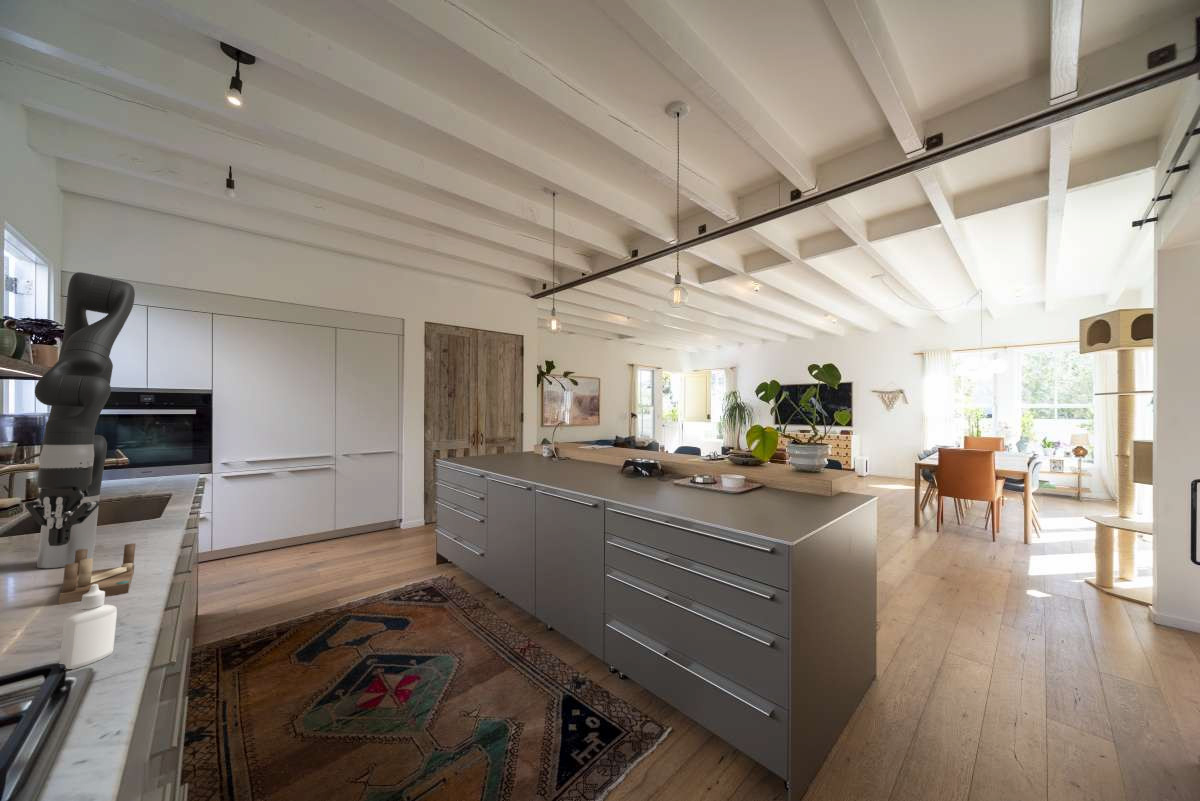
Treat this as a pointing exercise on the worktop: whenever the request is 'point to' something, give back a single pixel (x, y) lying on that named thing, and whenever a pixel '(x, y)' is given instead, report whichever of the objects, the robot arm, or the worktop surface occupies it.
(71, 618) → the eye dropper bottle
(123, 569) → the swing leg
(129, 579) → the wooden peg rack
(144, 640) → the worktop surface
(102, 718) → the worktop surface
